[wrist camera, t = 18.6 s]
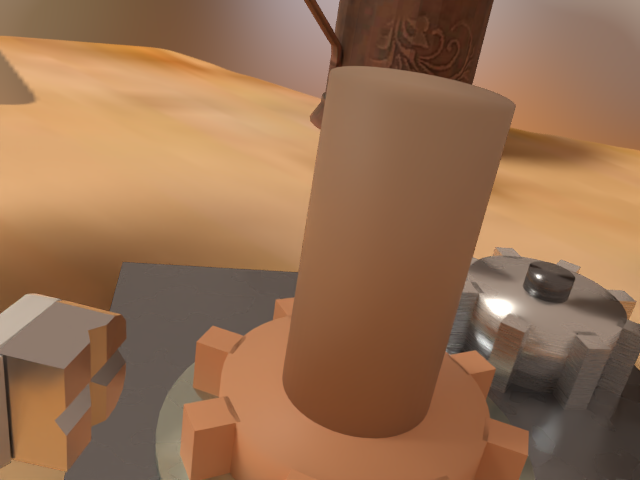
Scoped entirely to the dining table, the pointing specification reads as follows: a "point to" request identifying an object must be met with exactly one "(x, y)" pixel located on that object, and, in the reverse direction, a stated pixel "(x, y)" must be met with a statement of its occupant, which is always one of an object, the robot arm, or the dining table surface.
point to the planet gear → (370, 305)
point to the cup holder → (406, 37)
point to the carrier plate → (466, 335)
